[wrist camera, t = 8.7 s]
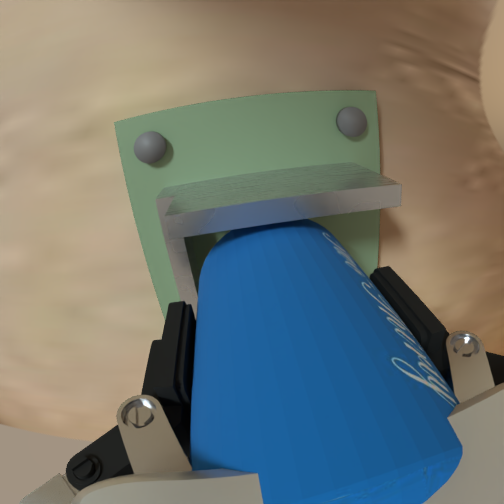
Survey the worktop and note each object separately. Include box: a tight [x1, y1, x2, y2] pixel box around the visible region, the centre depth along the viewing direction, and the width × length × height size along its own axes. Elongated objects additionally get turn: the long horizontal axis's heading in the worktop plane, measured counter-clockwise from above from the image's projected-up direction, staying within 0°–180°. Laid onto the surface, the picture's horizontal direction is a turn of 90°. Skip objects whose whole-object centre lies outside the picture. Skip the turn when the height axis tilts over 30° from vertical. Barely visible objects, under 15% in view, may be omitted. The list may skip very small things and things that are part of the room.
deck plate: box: [114, 90, 380, 320], centre depth 15 cm, size 14×12×1 cm
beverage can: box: [190, 219, 463, 504], centre depth 9 cm, size 6×6×12 cm
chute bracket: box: [155, 162, 402, 319], centre depth 14 cm, size 9×9×4 cm
